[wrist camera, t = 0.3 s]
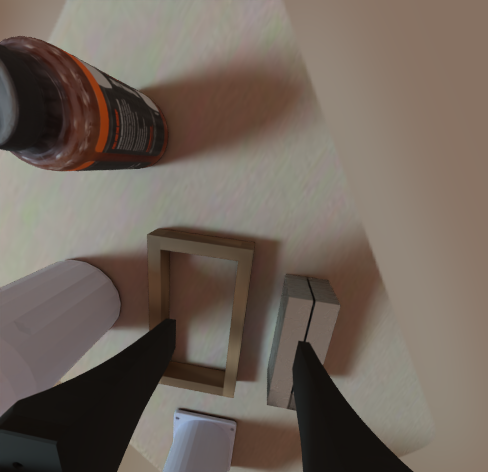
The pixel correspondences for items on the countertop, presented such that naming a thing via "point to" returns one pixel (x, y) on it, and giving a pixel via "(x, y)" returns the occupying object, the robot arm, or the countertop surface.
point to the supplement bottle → (73, 112)
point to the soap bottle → (51, 325)
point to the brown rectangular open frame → (158, 289)
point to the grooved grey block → (299, 332)
